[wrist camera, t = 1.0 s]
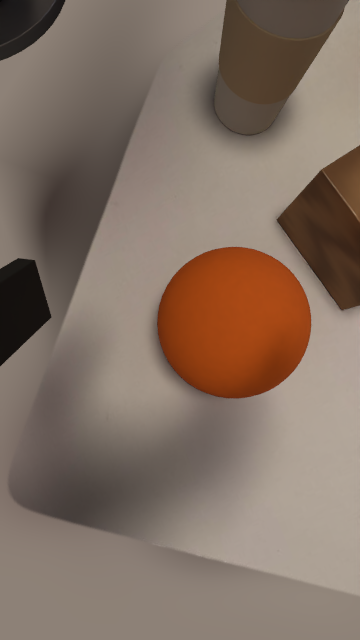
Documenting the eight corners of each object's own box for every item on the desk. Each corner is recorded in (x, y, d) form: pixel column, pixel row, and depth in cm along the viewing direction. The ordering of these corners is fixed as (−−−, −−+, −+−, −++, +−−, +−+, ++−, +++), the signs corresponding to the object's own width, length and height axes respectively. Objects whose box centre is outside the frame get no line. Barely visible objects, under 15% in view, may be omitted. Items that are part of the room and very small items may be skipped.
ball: (137, 299, 28) (127, 260, 17) (242, 255, 29) (296, 193, 18) (186, 410, 27) (210, 446, 16) (292, 359, 28) (380, 359, 17)
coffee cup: (191, 125, 30) (228, -98, 15) (217, 53, 32) (275, -215, 17) (274, 156, 31) (388, -32, 16) (297, 84, 32) (421, -152, 17)
